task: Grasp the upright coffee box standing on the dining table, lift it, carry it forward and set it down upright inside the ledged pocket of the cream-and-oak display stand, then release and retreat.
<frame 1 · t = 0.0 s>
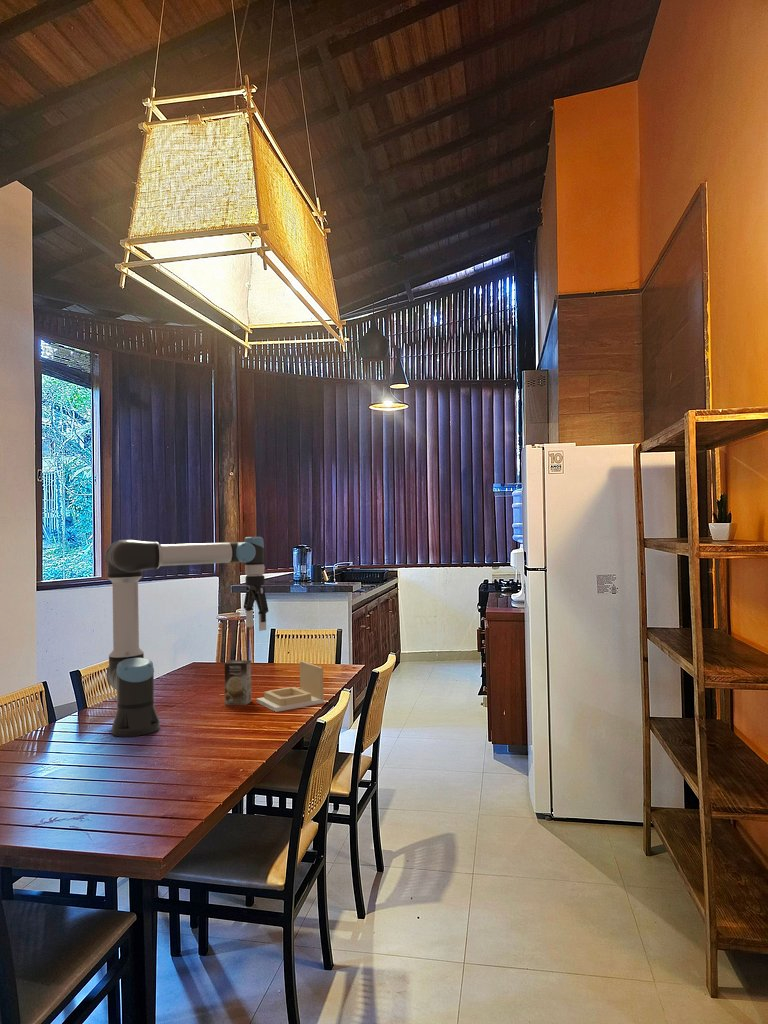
hand: (256, 628, 259), 28 cm above the table, fingers open, 13 cm apart
coffee box: (238, 703, 253), on the table
display stand: (287, 703, 251), on the table
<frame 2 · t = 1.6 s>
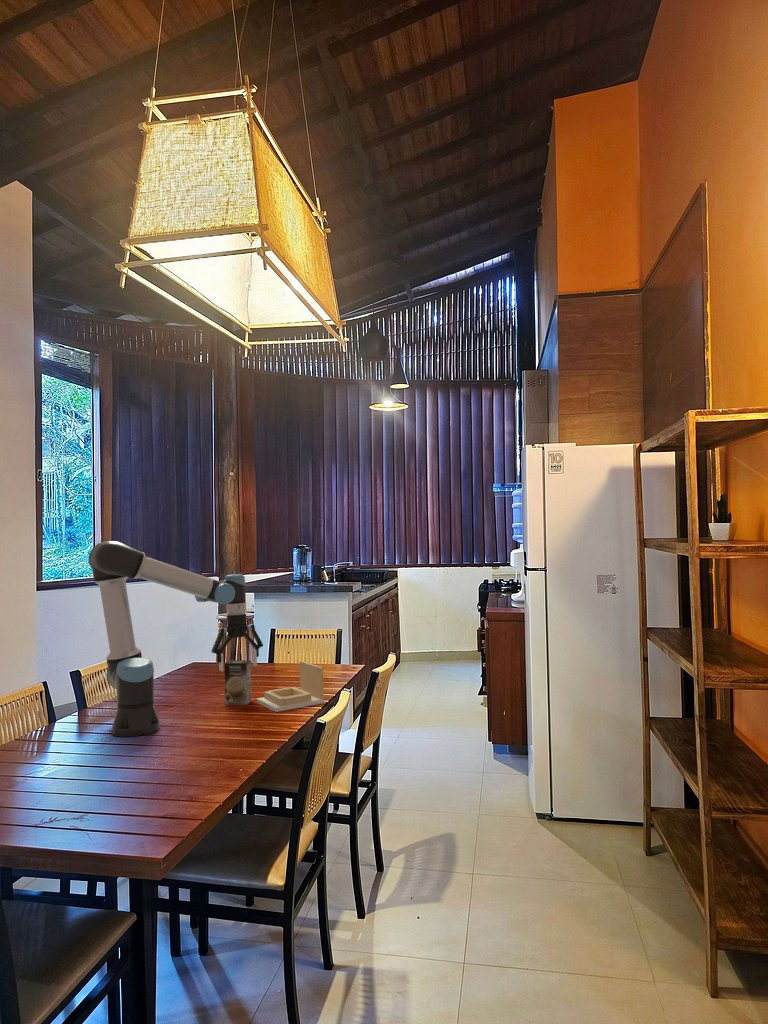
hand: (238, 668, 254), 13 cm above the table, fingers open, 13 cm apart
nothing on the table moved.
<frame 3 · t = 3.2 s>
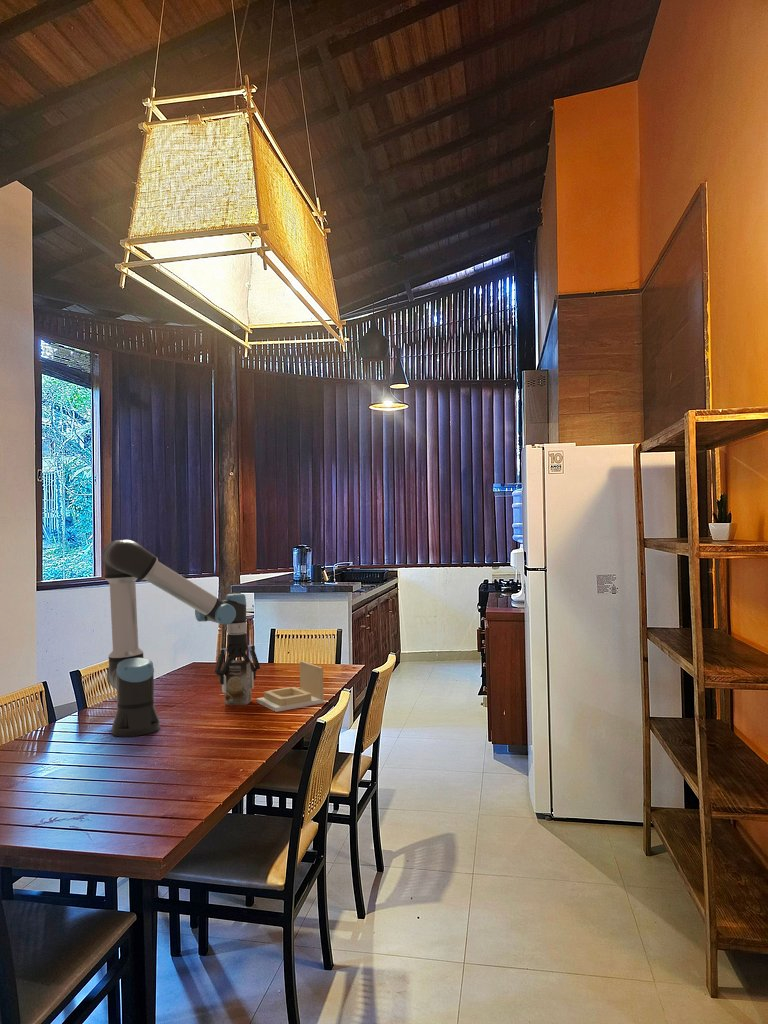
hand: (238, 690, 254), 5 cm above the table, fingers closed on coffee box, 10 cm apart
coffee box: (238, 703, 253), on the table, touching gripper
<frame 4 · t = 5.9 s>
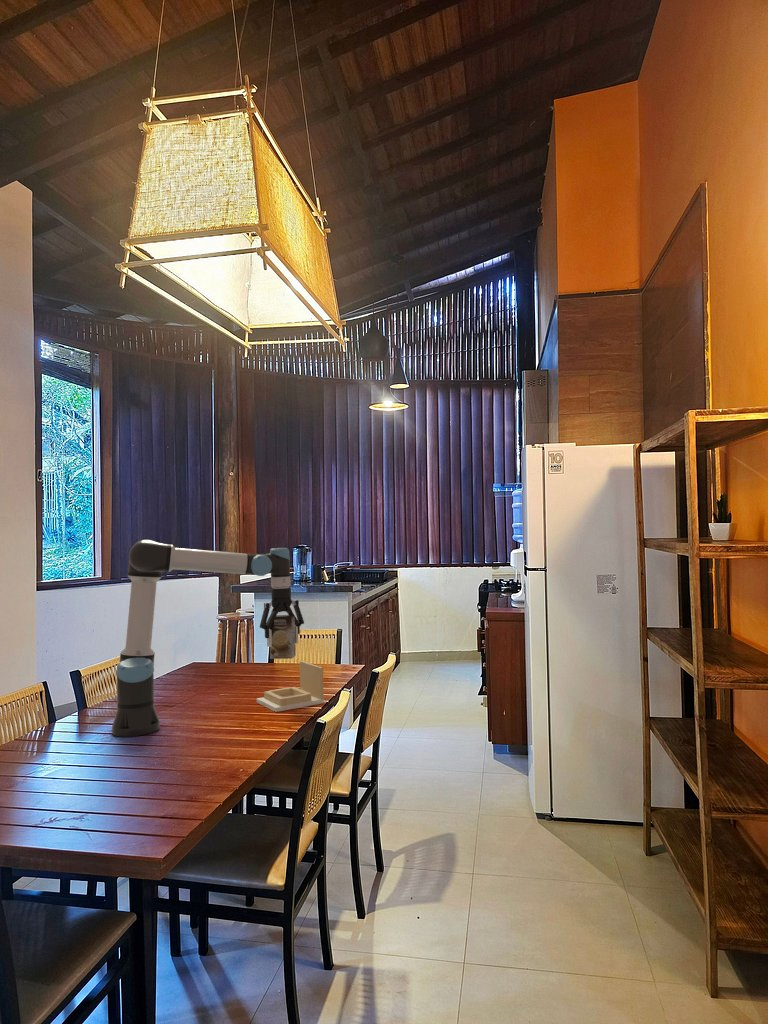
hand: (282, 644, 252), 22 cm above the table, fingers closed on coffee box, 10 cm apart
coffee box: (283, 657, 252), point 17 cm above the table, touching gripper
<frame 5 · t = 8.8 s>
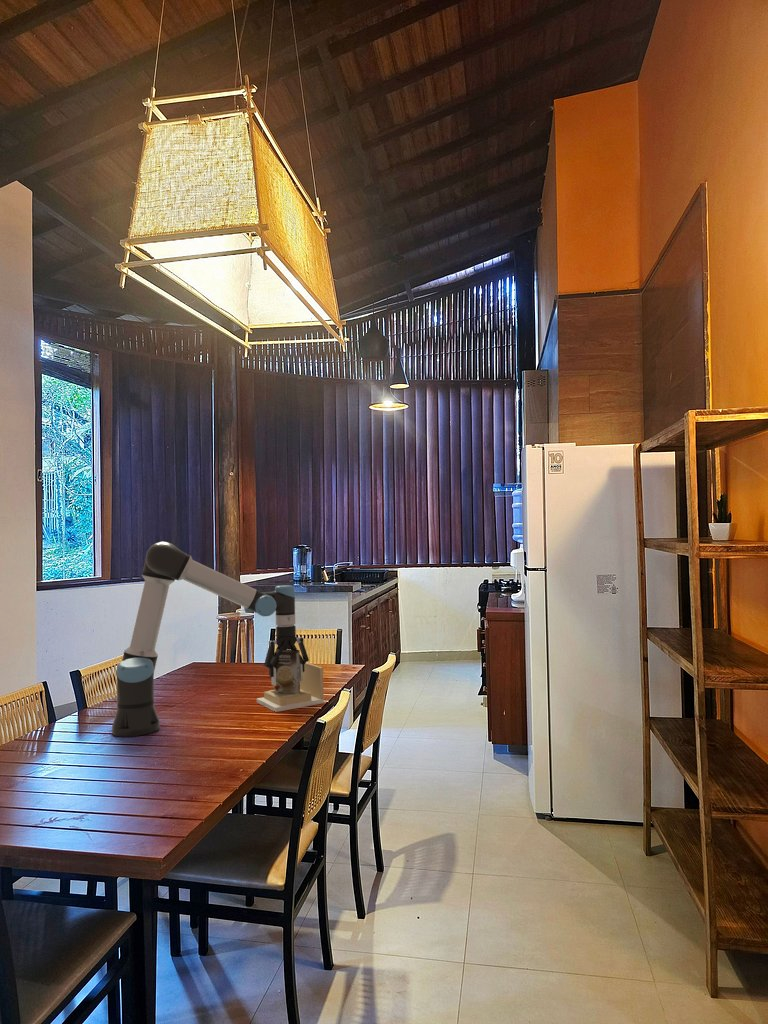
hand: (287, 682, 251), 8 cm above the table, fingers closed on coffee box, 10 cm apart
coffee box: (287, 693, 251), point 4 cm above the table, touching display stand, gripper
when the fingers open (8 cm above the table, at t = 9.8 s): coffee box stays where it is, resting on display stand.
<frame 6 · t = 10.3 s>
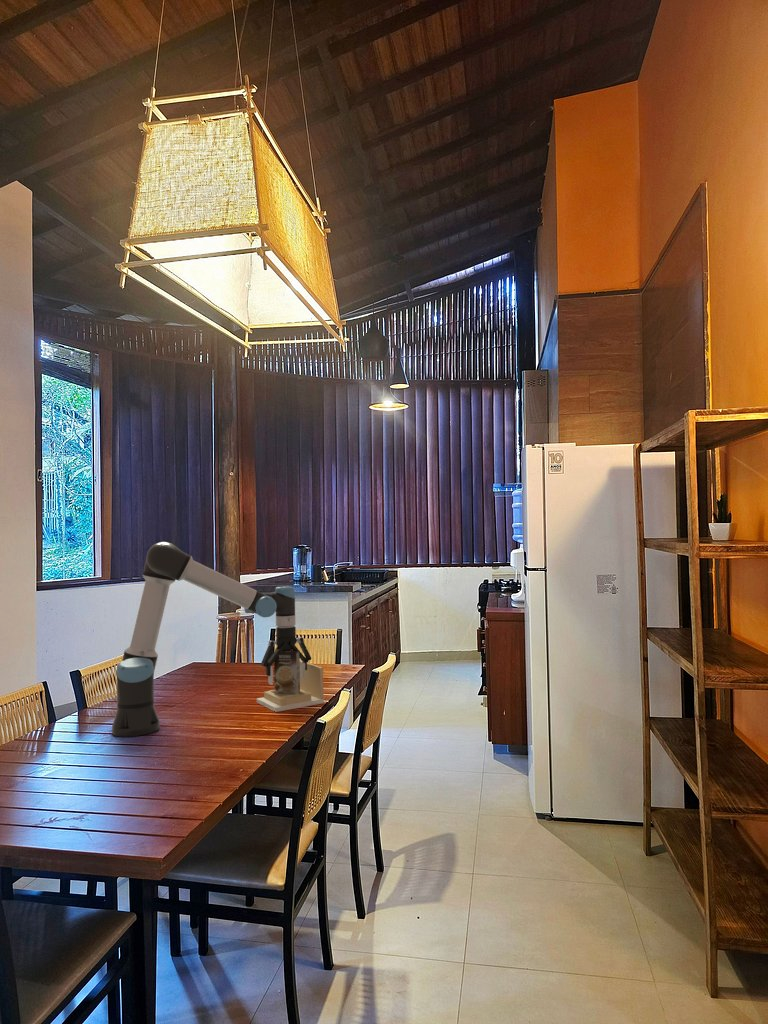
hand: (287, 681, 251), 8 cm above the table, fingers open, 13 cm apart
coffee box: (287, 693, 251), point 4 cm above the table, touching display stand
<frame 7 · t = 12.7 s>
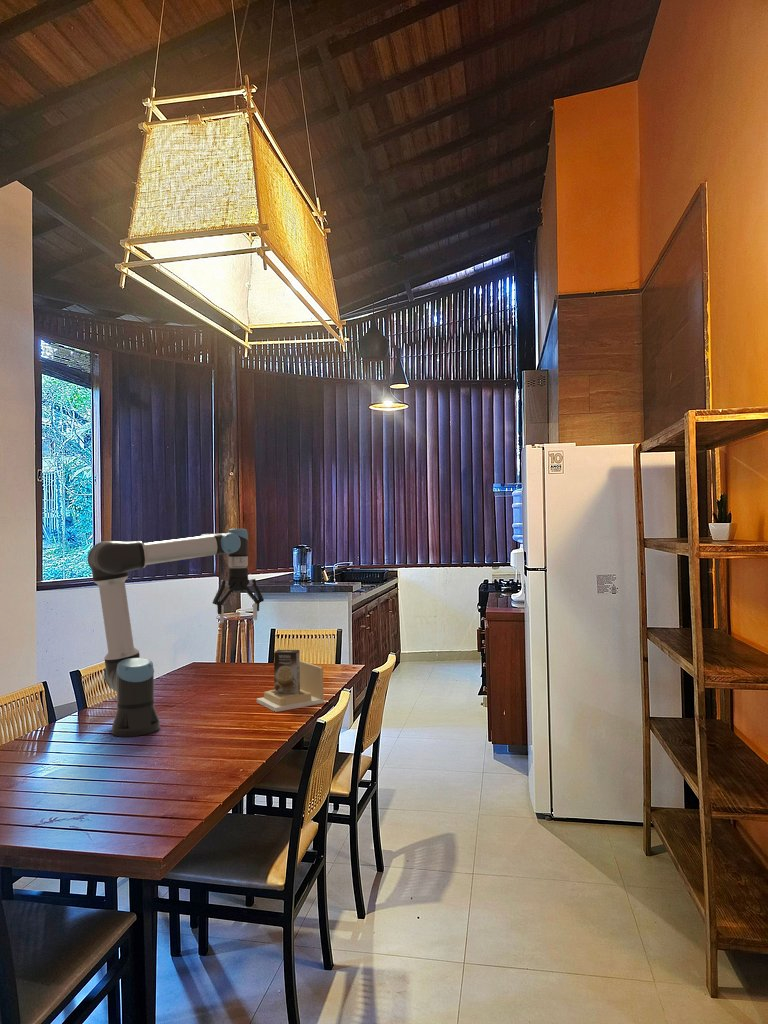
hand: (238, 621, 257), 31 cm above the table, fingers open, 13 cm apart
nothing on the table moved.
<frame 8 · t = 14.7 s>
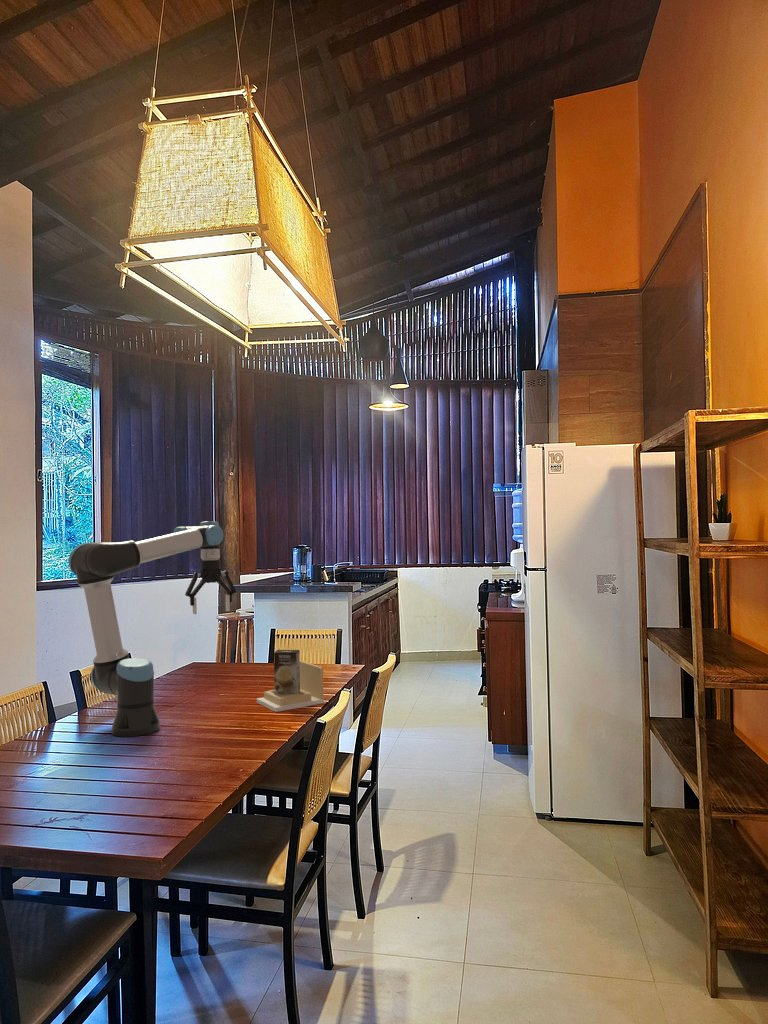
hand: (211, 612, 261), 35 cm above the table, fingers open, 13 cm apart
nothing on the table moved.
at the end: coffee box inside the target area on the display stand (0.0 cm from its centre), point 3.8 cm above the display stand's base; coffee box tilted 0°; the gripper is holding nothing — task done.
